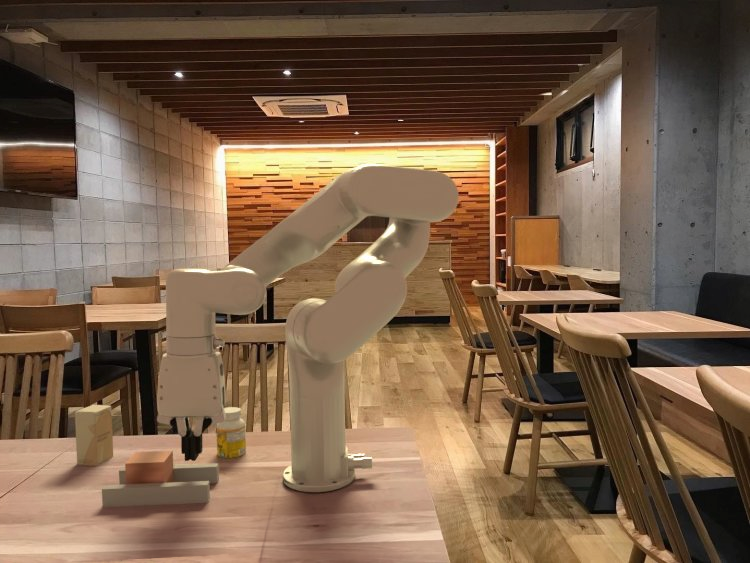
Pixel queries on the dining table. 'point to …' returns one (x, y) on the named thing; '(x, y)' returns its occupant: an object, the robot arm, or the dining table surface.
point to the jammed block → (150, 467)
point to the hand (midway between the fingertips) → (192, 457)
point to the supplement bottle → (231, 434)
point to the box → (94, 435)
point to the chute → (164, 488)
